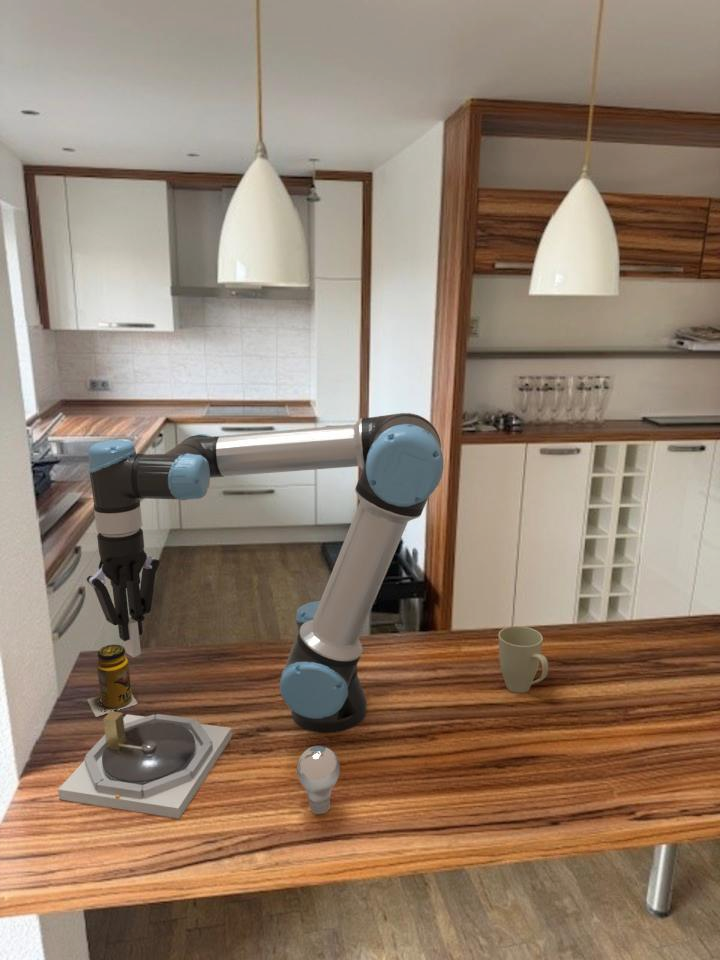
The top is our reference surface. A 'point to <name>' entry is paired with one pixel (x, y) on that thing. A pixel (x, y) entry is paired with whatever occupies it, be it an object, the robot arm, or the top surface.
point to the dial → (145, 750)
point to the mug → (521, 657)
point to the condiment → (112, 681)
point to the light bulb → (318, 776)
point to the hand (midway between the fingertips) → (133, 653)
